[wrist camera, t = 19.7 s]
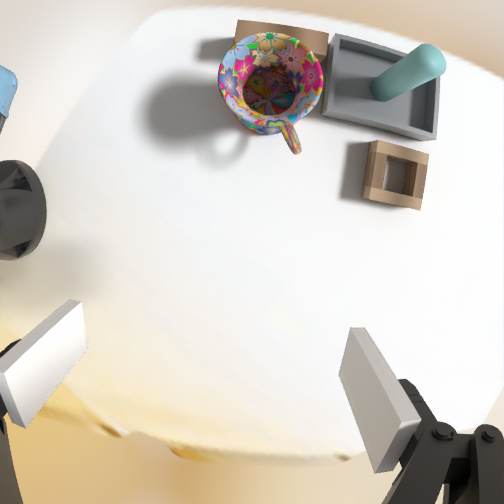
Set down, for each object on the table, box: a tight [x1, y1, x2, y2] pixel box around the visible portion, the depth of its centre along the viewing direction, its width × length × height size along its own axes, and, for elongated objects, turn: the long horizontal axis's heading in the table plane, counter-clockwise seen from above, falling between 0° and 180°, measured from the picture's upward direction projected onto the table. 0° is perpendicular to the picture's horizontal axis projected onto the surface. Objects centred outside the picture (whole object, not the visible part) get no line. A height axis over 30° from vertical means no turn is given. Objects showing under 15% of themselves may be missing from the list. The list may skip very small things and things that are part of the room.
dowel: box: [370, 44, 446, 102], centre depth 27 cm, size 3×3×13 cm
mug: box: [218, 32, 323, 154], centre depth 31 cm, size 12×9×11 cm
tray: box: [321, 33, 440, 141], centre depth 33 cm, size 14×10×4 cm
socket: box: [361, 140, 429, 210], centre depth 36 cm, size 7×7×3 cm
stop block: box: [234, 20, 329, 66], centre depth 31 cm, size 10×3×5 cm, turn 82°
